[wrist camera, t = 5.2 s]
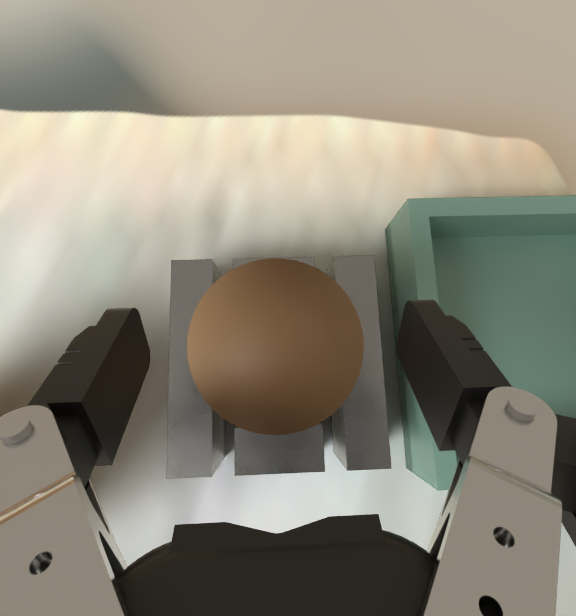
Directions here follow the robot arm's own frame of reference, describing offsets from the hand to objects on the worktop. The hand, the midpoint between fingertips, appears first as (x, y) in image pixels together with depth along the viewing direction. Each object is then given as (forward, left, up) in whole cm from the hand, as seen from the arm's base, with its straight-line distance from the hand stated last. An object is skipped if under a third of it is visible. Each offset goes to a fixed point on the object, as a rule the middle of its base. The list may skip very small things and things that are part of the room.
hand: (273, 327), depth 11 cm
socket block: (0, +1, -10) cm, 10 cm away
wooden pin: (0, +1, -10) cm, 10 cm away
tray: (-14, 0, -10) cm, 17 cm away
